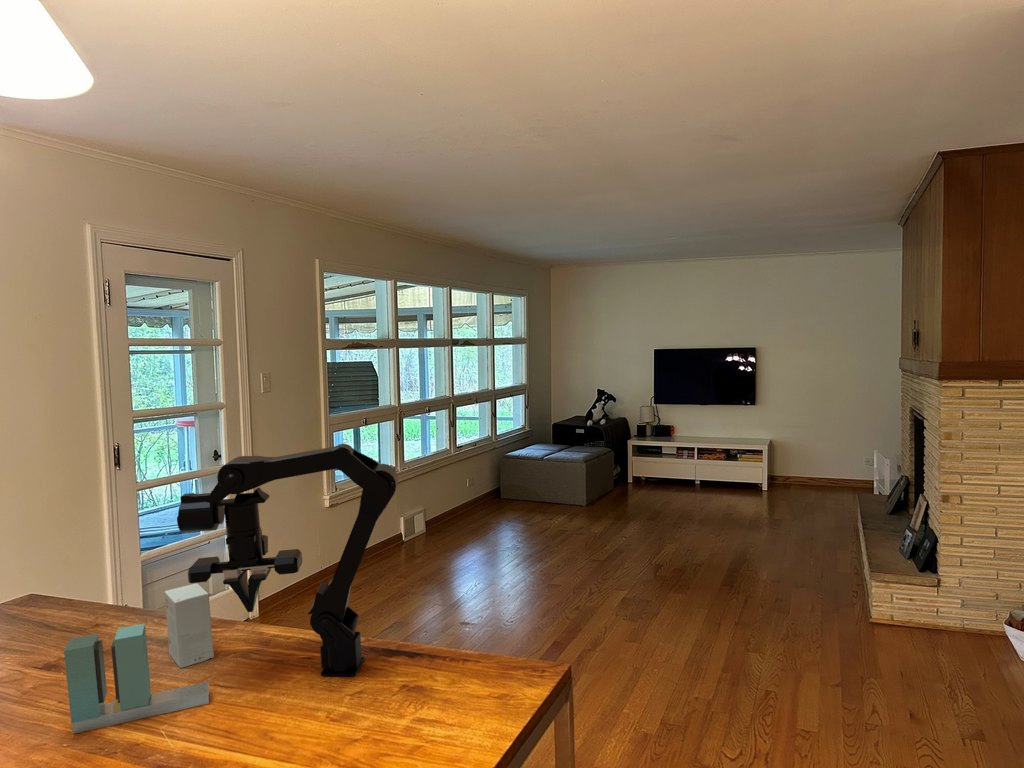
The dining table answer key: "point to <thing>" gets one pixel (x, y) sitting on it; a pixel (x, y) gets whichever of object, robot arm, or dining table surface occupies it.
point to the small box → (189, 625)
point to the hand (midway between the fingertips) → (250, 611)
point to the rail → (91, 691)
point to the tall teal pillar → (131, 667)
